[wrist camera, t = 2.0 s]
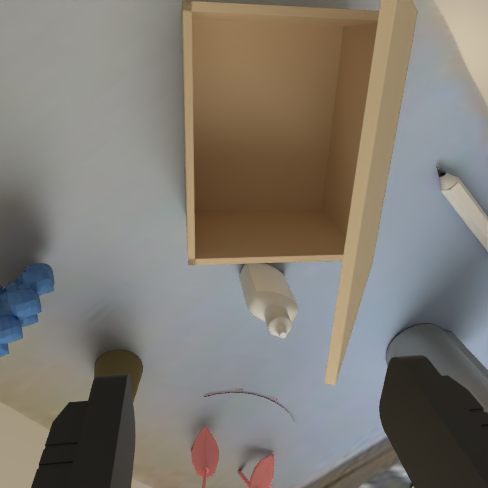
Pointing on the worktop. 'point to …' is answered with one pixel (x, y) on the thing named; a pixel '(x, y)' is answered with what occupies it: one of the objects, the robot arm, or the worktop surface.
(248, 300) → the eye dropper bottle
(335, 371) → the lid flap
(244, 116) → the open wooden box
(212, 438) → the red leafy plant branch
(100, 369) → the cork
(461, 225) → the worktop surface
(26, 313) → the grapes
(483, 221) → the marker
